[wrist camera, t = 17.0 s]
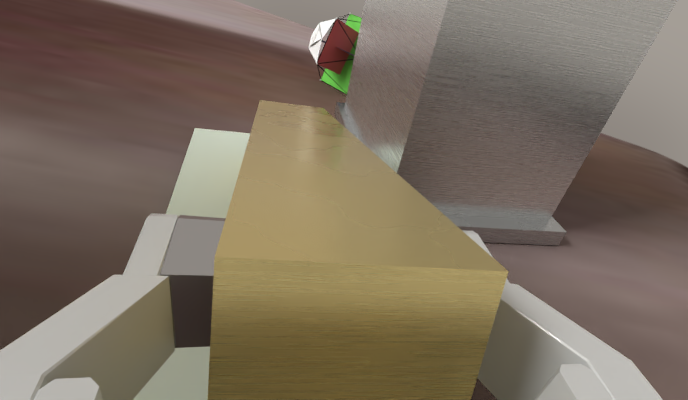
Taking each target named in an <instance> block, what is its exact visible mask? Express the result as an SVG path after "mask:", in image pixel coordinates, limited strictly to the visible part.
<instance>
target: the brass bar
mask: <svg viewBox="0 0 688 400" xmlns="http://www.w3.org/2000/svg"><path fill="white" fill-rule="evenodd" d="M508 272H509V271H507V270H506V269H505V268H504V267H503V266H502V265H501V264H499V263H498V262H497V261H496V260H495V259H494V258H493V257H492V256H490V255H489V254H488V253H487V252H486V251H485V250H484V249H482V248H481V247H480V246H479V245H478V244H477V243H476V242H474V241H473V240H472V239H471V238H470V237H469V236H468V235H467V234H465V233H464V232H463V231H462V230H461V229H460V228H459V227H457V226H456V225H455V224H454V223H453V222H452V221H451V220H450V219H448V218H447V217H446V216H445V215H444V214H443V213H442V212H440V211H439V210H438V209H437V208H436V207H435V206H434V205H432V204H431V203H430V202H429V201H428V200H427V199H426V198H425V197H423V196H422V195H421V194H420V193H419V192H418V191H417V190H415V189H414V188H413V187H412V186H411V185H410V184H409V183H407V182H406V181H405V180H404V179H403V178H402V177H401V176H400V175H398V174H397V173H396V172H395V171H394V170H393V169H392V168H390V167H389V166H388V165H387V164H386V163H385V162H384V161H383V160H381V159H380V158H379V157H378V156H377V155H376V154H375V153H373V152H372V151H371V150H370V149H369V148H368V147H367V146H365V145H364V144H363V143H362V142H361V141H360V140H359V139H358V138H356V137H355V136H354V135H353V134H352V133H351V132H350V131H348V130H347V129H346V128H345V127H344V126H343V125H342V124H340V123H339V122H338V121H337V120H336V119H335V118H334V117H333V116H331V115H330V114H329V113H328V112H327V111H326V110H325V109H323V108H317V107H310V106H302V105H294V104H286V103H279V102H271V101H263V100H260V102H259V106H258V109H257V112H256V116H255V119H254V123H253V126H252V130H251V133H250V137H249V140H248V143H247V147H246V150H245V154H244V157H243V161H242V164H241V168H240V171H239V174H238V178H237V181H236V185H235V188H234V192H233V195H232V199H231V202H230V205H229V209H228V212H227V216H226V219H225V223H224V226H223V230H222V233H221V237H220V240H219V243H218V247H217V250H216V254H215V259H214V279H213V299H212V319H211V339H210V359H209V379H208V399H207V400H471V397H472V394H473V390H474V387H475V384H476V380H477V377H478V373H479V370H480V367H481V363H482V360H483V357H484V353H485V350H486V346H487V343H488V340H489V336H490V333H491V329H492V326H493V323H494V319H495V316H496V312H497V309H498V306H499V302H500V299H501V295H502V292H503V289H504V285H505V282H506V279H507V275H508Z"/></svg>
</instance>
